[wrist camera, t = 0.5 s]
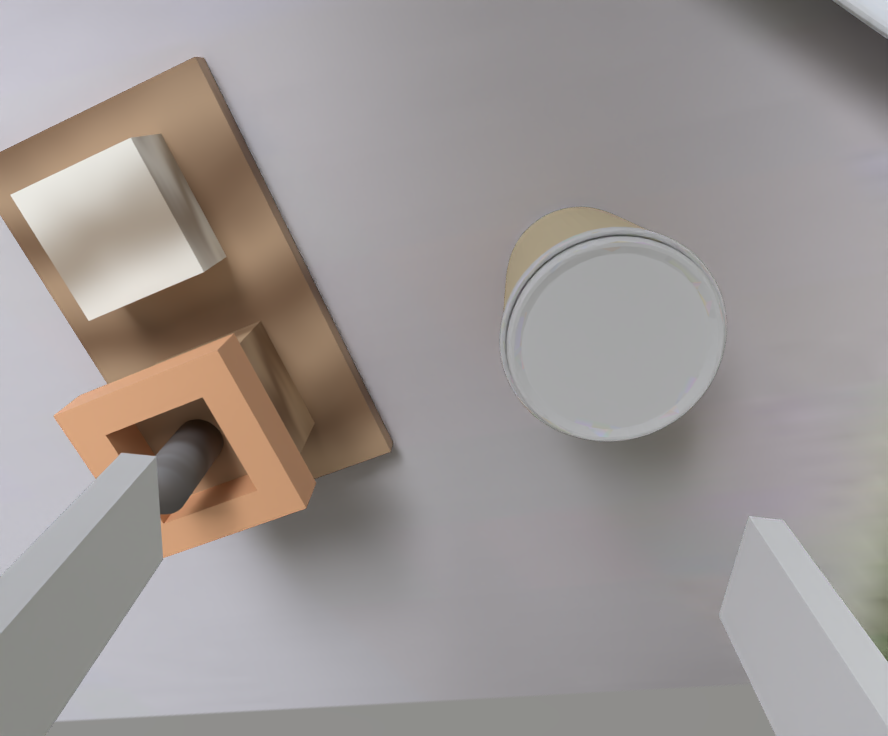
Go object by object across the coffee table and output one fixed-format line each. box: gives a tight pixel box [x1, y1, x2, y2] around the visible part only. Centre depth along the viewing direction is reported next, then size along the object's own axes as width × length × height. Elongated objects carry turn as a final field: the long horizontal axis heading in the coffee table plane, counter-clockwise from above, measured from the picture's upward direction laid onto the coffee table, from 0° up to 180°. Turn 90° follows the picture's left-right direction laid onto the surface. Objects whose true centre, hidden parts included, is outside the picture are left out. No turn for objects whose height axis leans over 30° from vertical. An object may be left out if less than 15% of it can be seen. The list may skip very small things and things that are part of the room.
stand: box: [0, 57, 393, 515], centre depth 35 cm, size 24×14×12 cm, turn 22°
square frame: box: [54, 333, 316, 558], centre depth 35 cm, size 9×9×2 cm
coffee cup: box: [499, 207, 727, 442], centre depth 34 cm, size 9×9×12 cm
